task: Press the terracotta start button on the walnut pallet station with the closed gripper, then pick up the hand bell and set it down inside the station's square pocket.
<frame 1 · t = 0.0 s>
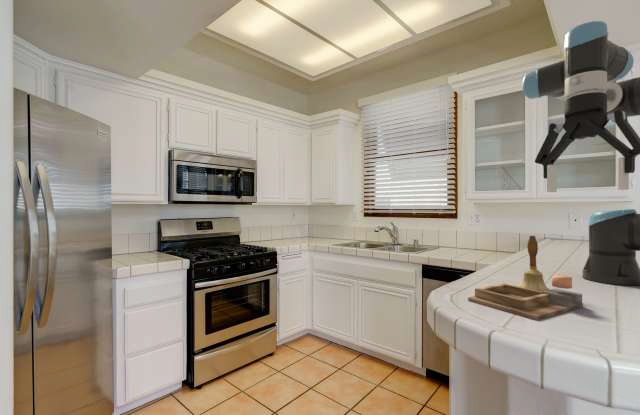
hand: (584, 191, 74), 28 cm above the table, fingers open, 13 cm apart
hand bell: (533, 290, 97), on the table
button: (561, 281, 82), point 6 cm above the table, slide at 0.0 cm
station: (523, 303, 83), on the table
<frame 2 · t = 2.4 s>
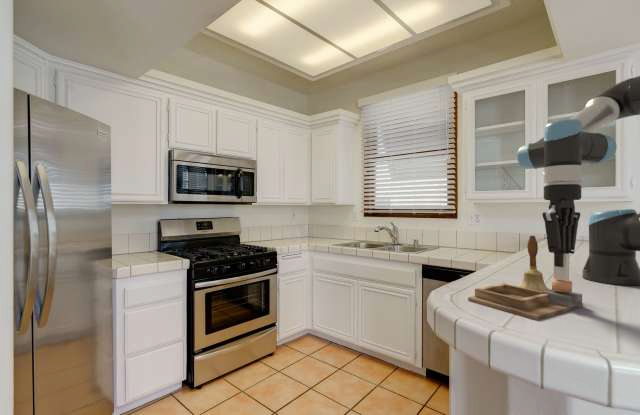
hand: (561, 279, 82), 6 cm above the table, fingers closed
button: (561, 285, 82), point 5 cm above the table, slide at 0.9 cm, touching gripper
everything else where it was.
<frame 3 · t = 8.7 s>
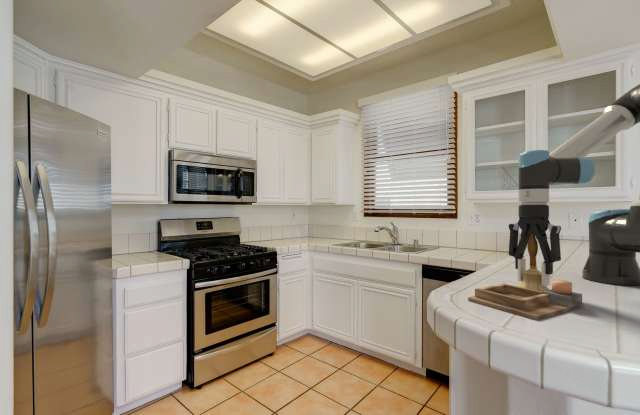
hand: (533, 282, 97), 2 cm above the table, fingers closed on hand bell, 6 cm apart
hand bell: (533, 290, 97), on the table, touching gripper
button: (561, 286, 82), point 5 cm above the table, slide at 1.3 cm
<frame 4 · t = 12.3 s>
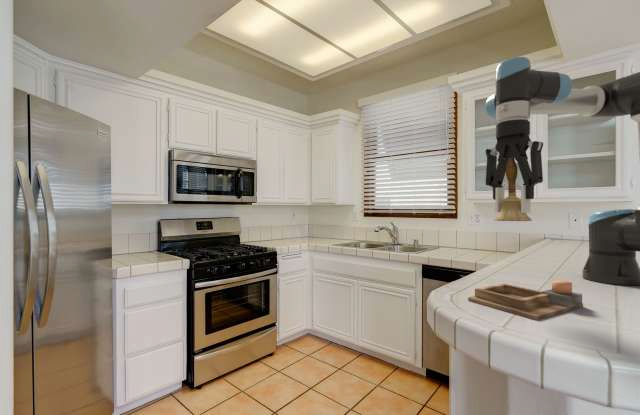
hand: (512, 212, 84), 23 cm above the table, fingers closed on hand bell, 6 cm apart
hand bell: (512, 221, 84), point 21 cm above the table, touching gripper
everything else where it was.
when the fingers open (4 cm above the table, at t = 16.2 s): hand bell drops 1 cm, resting on station.
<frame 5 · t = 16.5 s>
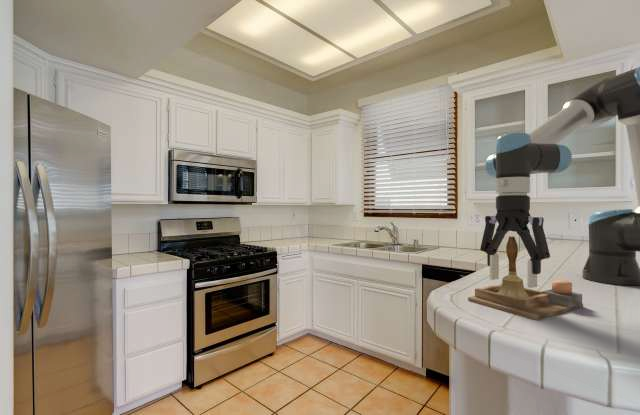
hand: (512, 282, 84), 5 cm above the table, fingers open, 9 cm apart
hand bell: (512, 299, 84), point 1 cm above the table, touching station
everything else where it was.
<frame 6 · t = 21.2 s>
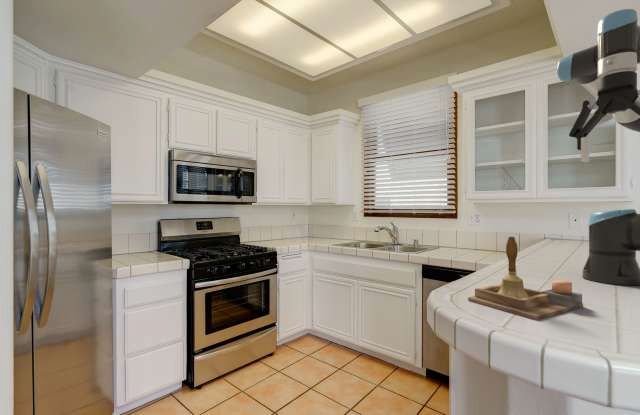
hand: (616, 158, 84), 37 cm above the table, fingers open, 13 cm apart
nothing on the table moved.
at the end: button slide at 1.3 cm; hand bell 0.1 cm from the target spot on the station, point 0.6 cm above the station's base; hand bell tilted 0° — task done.
